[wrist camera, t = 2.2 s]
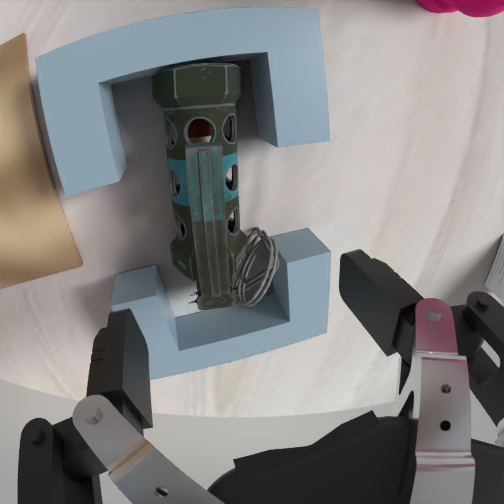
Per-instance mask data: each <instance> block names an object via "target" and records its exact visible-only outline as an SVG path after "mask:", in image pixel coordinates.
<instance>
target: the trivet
mask: <svg viewBox="0 0 504 504" xmlns="http://www.w3.org/2000/svg"><path fill="white" fill-rule="evenodd" d="M82 264H83V262H82V259H81V257H80V254H79V252H78V250H77V247H76V245H75V242H74V240H73V237H72V235H71V232H70V229H69V227H68V224H67V221H66V218H65V216H64V213H63V210H62V207H61V204H60V201H59V198H58V195H57V192H56V189H55V186H54V183H53V179H52V176H51V172H50V169H49V165H48V162H47V158H46V154H45V151H44V147H43V143H42V138H41V134H40V130H39V125H38V121H37V116H36V111H35V105H34V100H33V94H32V88H31V81H30V73H29V65H28V56H27V45H26V34H24V33H23V34H21V35H19V36H17V37H15V38H13V39H11V40H9V41H8V42H6V43H4V44H2V45H1V46H0V289H2V288H5V287H9V286H12V285H16V284H19V283H22V282H26V281H29V280H33V279H36V278H40V277H44V276H47V275H51V274H54V273H58V272H62V271H65V270H69V269H73V268H76V267H80V266H82Z"/></svg>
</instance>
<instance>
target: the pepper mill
mask: <svg viewBox="0 0 504 504" xmlns="http://www.w3.org/2000/svg"><path fill="white" fill-rule="evenodd" d="M417 1H418V2H419V3H420V4H421V5H422V6H423V7H425V8H426V9H428V10H430V11H432V12H435V13H447V12H455V11H457V10H459V11H460V12H462V13H463V14H465V15H468V16H471V17H488V16H492V15H495V14H498V13H501V12H502V11H504V0H417Z"/></svg>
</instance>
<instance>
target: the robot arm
mask: <svg viewBox="0 0 504 504" xmlns="http://www.w3.org/2000/svg"><path fill="white" fill-rule="evenodd" d="M339 291H340V295H341V297H342V299H343V301H344V302H345V304H346V305H347V306H348V307H349V309H350V310H351V311H352V312H353V314H354V315H355V316H356V317H357V319H358V320H359V321H360V322H361V324H362V325H363V326H364V327H365V329H366V330H367V331H368V333H369V334H370V335H371V336H372V338H373V339H374V340H375V342H376V343H377V344H378V345H379V347H380V348H381V349H382V351H383V352H384V353H385V354H386V356H387V357H388V356H390V355H392V354H394V353H396V352H398V353H399V354H400V359H399V365H398V378H397V388H396V397H395V403H394V407H393V411H392V414H391V416H386V417H378V418H377V417H376V415H375V414H374V412H373V411H370V412H367V413H365V414H363V415H361V416H359V417H357V418H354V419H353V420H350V421H348V422H345V423H343V424H341V425H340V426H338V427H337V428H335V429H334V430H333V431H331V432H330V433H328V434H327V435H326V436H324V437H323V438H321V439H320V440H318V441H317V442H315V443H314V444H312V445H309V446H304V447H295V448H285V449H274V450H267V451H264V452H260V453H257V454H253V455H249V456H245V457H241V458H237V459H234V460H233V461H234V464H235V468H234V469H232V470H230V471H228V472H227V473H225V474H223V475H222V476H221V477H219V478H218V479H217V480H216V481H215V482H214V483H213V484H212V485H211V486H210V487H209V488H208V490H205V489H204V488H203V487H201V486H200V485H199V484H197V483H196V482H195V481H194V480H192V479H191V478H190V477H189V476H187V475H186V474H185V473H184V472H182V471H181V470H180V469H179V468H178V467H176V466H175V465H174V464H173V463H172V462H171V461H169V460H168V459H167V458H166V457H165V456H164V455H163V454H162V453H160V452H159V451H158V450H157V449H156V448H155V447H154V446H153V445H152V444H151V443H150V442H148V441H147V440H146V439H145V438H144V434H143V429H147V428H153V422H152V409H151V395H150V376H149V352H148V346H147V343H146V340H145V337H144V335H143V333H142V331H141V329H140V327H139V325H138V323H137V321H136V319H135V317H134V315H133V312H132V311H131V309H130V308H127V309H123V310H119V311H114V312H110V314H109V319H108V325H107V328H102V329H100V331H99V332H98V334H97V336H96V337H95V339H94V343H93V349H92V352H93V353H92V355H91V363H90V369H89V377H88V385H87V394H86V398H84V399H82V400H81V401H80V402H79V403H78V404H77V405H76V407H75V409H74V411H73V416H72V417H71V418H69V419H66V420H64V421H61V422H59V423H57V424H54V425H51V424H50V423H49V422H48V421H47V420H45V419H43V418H35V419H32V420H31V421H29V422H28V423H27V424H26V425H25V427H24V428H23V430H22V433H21V439H20V449H19V463H18V465H19V466H18V504H103V503H102V496H101V487H100V478H99V474H101V473H103V472H106V471H109V474H108V475H109V477H110V479H111V480H112V481H113V483H114V484H115V485H116V486H117V487H118V488H119V490H120V491H121V492H122V493H123V494H124V495H125V496H126V497H127V498H128V499H129V500H130V501H131V502H132V504H504V307H503V306H501V304H499V303H498V302H497V301H496V300H495V299H494V298H493V297H492V296H491V295H489V294H487V293H484V292H479V291H477V292H472V293H471V294H469V296H468V298H467V300H466V303H465V305H459V306H452V307H449V306H448V305H447V304H446V303H445V302H443V301H441V300H439V299H435V298H426V299H424V298H423V297H422V296H421V295H420V294H419V293H418V292H417V291H416V290H415V289H413V288H412V287H411V286H410V285H409V284H408V283H407V282H406V281H405V280H404V279H403V278H401V277H400V276H399V275H398V274H397V273H396V272H394V270H393V269H392V268H390V267H389V266H388V265H387V264H386V263H384V262H382V261H380V260H377V259H375V258H373V259H371V258H370V257H369V256H368V255H367V254H366V253H365V252H364V251H362V250H361V249H358V250H355V251H351V252H348V253H344V254H342V255H341V258H340V276H339ZM484 340H486V342H487V343H488V344H489V345H490V346H491V347H492V348H493V350H494V351H495V352H496V353H497V354H498V356H499V358H500V367H499V368H498V367H497V366H496V364H495V363H494V362H493V361H492V360H491V358H490V357H489V356H488V355H487V354H486V352H485V351H484V350H483V349H482V348H481V346H482V344H483V342H484ZM469 389H471V391H472V392H473V394H474V395H475V396H476V398H477V399H478V400H479V402H480V403H481V405H482V406H483V408H484V409H485V410H486V412H487V413H488V415H489V416H490V417H491V419H492V421H493V422H494V424H495V425H496V427H497V437H496V438H495V444H496V445H493V444H489V443H485V442H482V441H478V440H475V439H471V407H470V390H469Z"/></svg>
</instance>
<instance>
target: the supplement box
mask: <svg viewBox="0 0 504 504" xmlns="http://www.w3.org/2000/svg"><path fill="white" fill-rule="evenodd" d="M485 286H486V287H487V288H488V289H489V290H491V291H492V292H493V293H494V294H495V295H496V296H497V297H498V298H500V299H501V300H502V301H503V302H504V235H503V237H502V240H501V243H500V246H499V249H498V251H497V254H496V257H495V260H494V262H493V265H492V267H491V270H490V272H489V275H488V277H487V280H486V282H485Z"/></svg>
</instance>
